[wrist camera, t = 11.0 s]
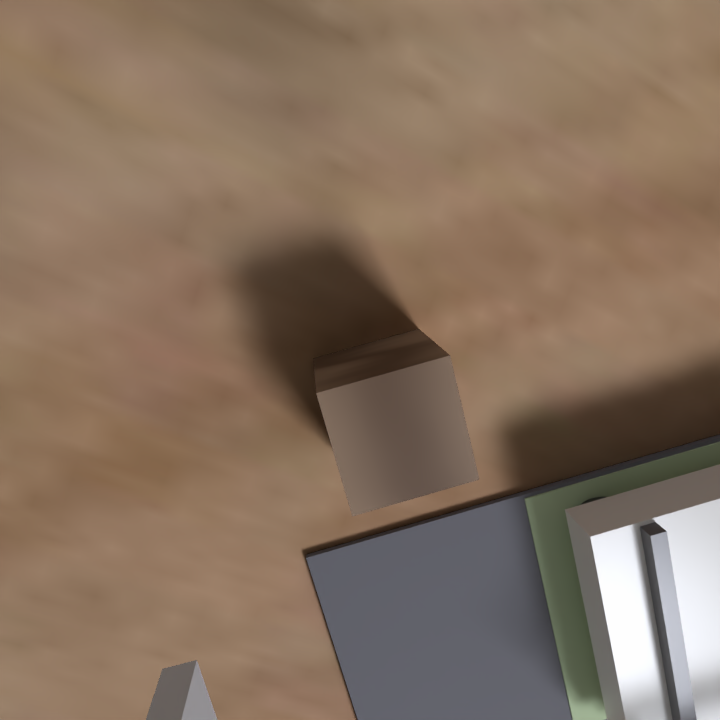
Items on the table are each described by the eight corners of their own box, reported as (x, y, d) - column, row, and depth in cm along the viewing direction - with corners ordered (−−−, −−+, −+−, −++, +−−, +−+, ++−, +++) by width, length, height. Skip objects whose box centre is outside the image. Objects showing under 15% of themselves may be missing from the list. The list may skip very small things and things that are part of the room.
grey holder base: (379, 784, 33) (389, 860, 29) (306, 554, 29) (306, 604, 25) (855, 639, 33) (928, 693, 30) (836, 400, 30) (915, 425, 26)
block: (342, 457, 28) (352, 516, 23) (313, 358, 27) (316, 393, 21) (443, 428, 29) (479, 479, 23) (418, 328, 27) (450, 355, 22)
